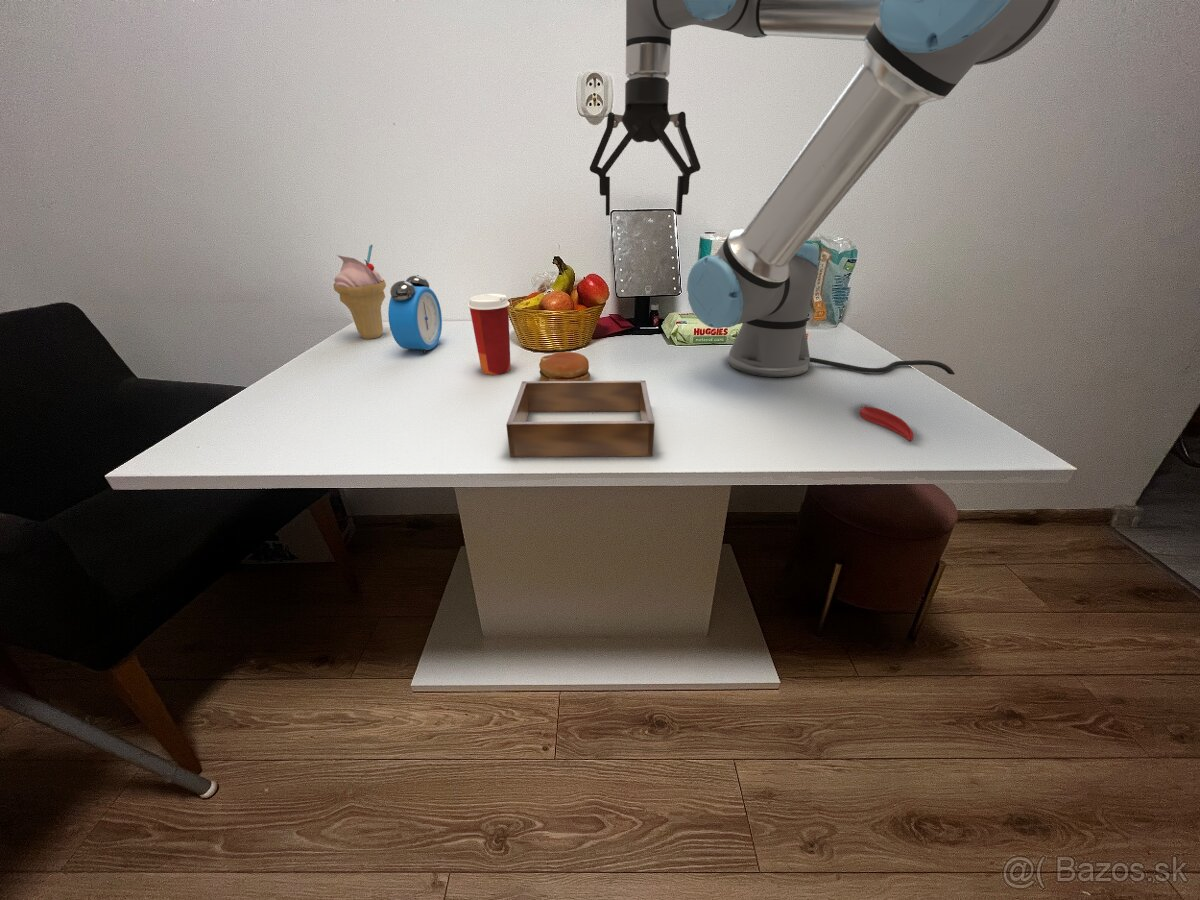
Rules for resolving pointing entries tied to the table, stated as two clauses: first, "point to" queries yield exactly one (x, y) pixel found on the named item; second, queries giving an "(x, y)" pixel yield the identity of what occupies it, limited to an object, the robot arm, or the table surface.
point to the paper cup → (491, 331)
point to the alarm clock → (414, 314)
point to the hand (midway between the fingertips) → (643, 215)
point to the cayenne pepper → (887, 421)
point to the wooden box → (581, 434)
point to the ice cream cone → (362, 294)
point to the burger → (564, 367)
